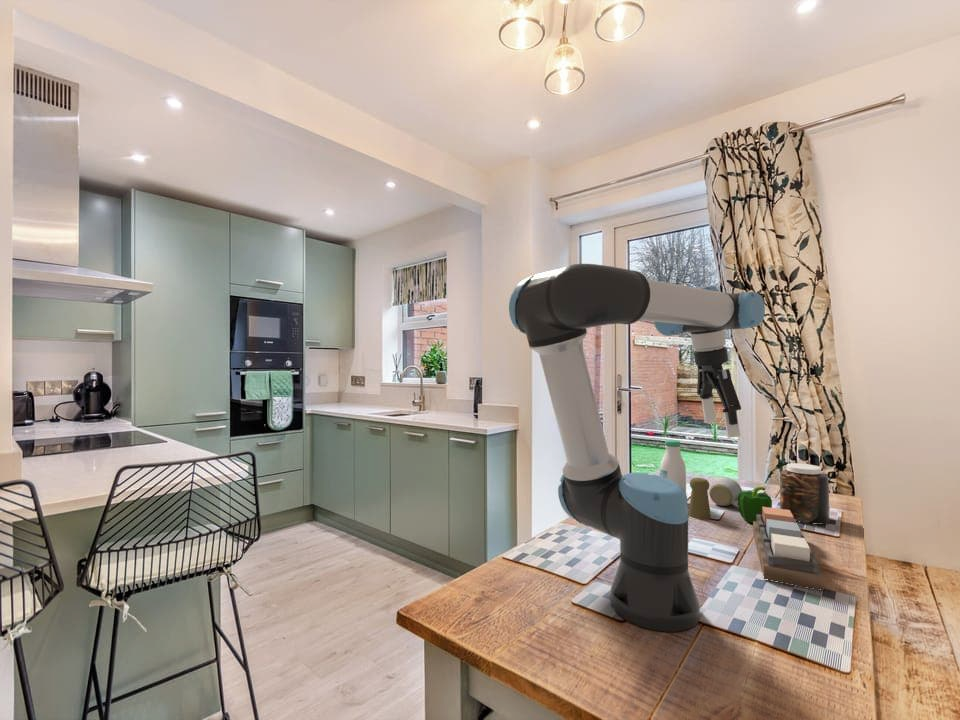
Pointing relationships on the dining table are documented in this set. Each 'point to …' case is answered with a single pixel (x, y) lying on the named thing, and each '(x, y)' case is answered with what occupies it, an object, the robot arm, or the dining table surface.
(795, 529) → the slate block
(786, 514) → the terracotta block
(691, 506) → the pepper mill
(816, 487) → the jar
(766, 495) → the bell pepper
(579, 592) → the dining table surface
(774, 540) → the cream block
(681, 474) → the milk bottle
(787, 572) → the block tray
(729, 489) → the ceramic mug
